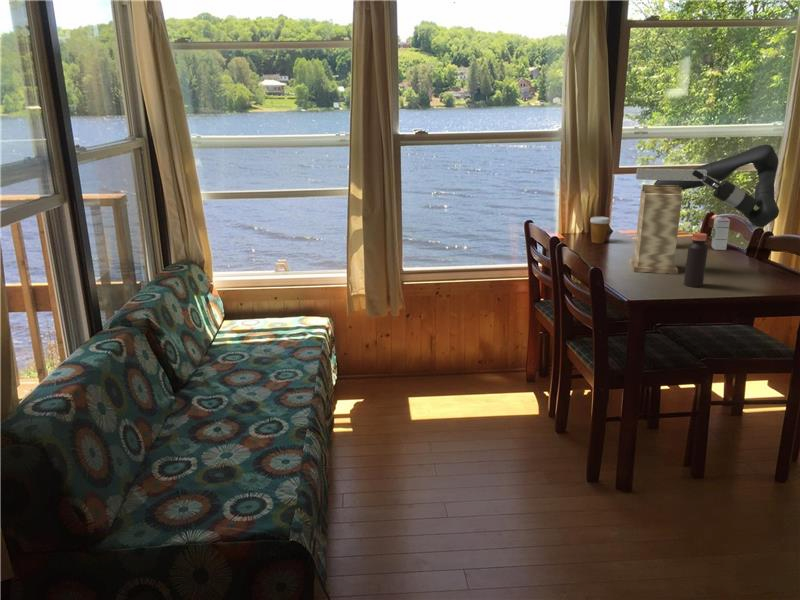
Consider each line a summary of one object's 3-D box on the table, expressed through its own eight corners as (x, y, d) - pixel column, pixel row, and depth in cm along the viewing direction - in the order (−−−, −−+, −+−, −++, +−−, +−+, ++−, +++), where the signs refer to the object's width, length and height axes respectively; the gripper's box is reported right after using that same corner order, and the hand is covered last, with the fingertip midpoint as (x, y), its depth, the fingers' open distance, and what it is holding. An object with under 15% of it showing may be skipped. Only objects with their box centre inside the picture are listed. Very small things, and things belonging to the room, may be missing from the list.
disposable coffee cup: (610, 244, 323) (612, 219, 319) (591, 244, 323) (593, 219, 319) (605, 239, 332) (607, 216, 328) (586, 239, 332) (587, 216, 329)
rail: (703, 179, 266) (704, 169, 265) (705, 181, 262) (707, 170, 261) (635, 178, 271) (636, 168, 270) (637, 179, 267) (638, 169, 266)
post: (670, 264, 284) (680, 184, 273) (677, 274, 270) (688, 189, 259) (629, 263, 287) (637, 183, 277) (633, 272, 273) (642, 188, 263)
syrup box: (726, 250, 309) (731, 219, 305) (713, 249, 310) (717, 219, 306) (723, 247, 315) (727, 217, 310) (710, 246, 316) (714, 216, 311)
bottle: (687, 287, 251) (694, 236, 245) (680, 282, 258) (687, 232, 252) (705, 287, 251) (712, 235, 245) (698, 282, 258) (705, 232, 252)
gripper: (730, 183, 269) (694, 161, 269) (740, 188, 256) (702, 165, 256) (718, 199, 272) (682, 177, 272) (727, 204, 259) (690, 181, 259)
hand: (692, 171), depth 264 cm, fingers closed on rail, 4 cm apart
